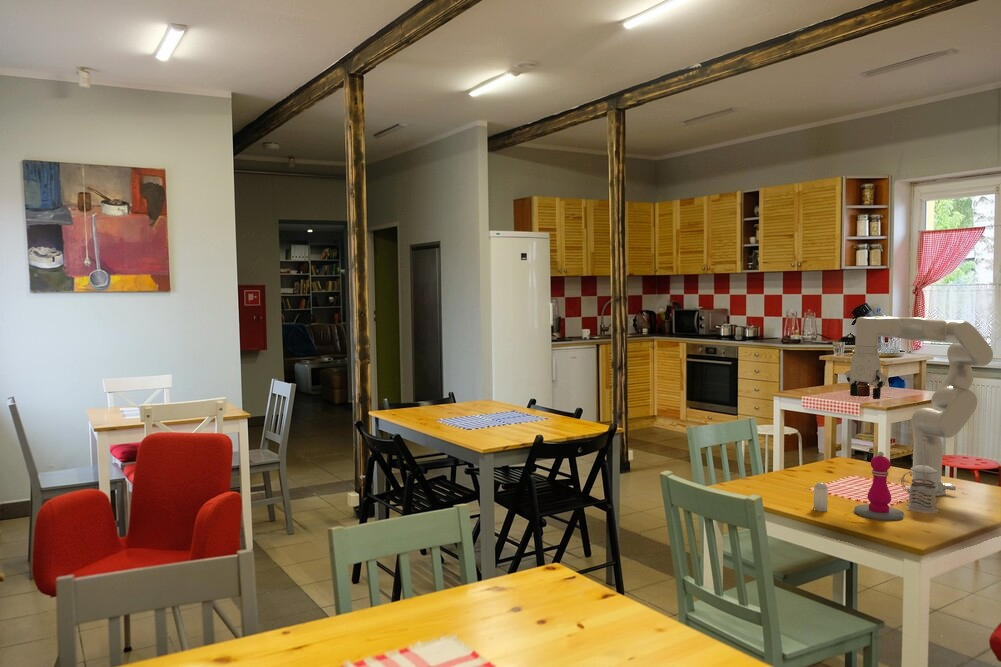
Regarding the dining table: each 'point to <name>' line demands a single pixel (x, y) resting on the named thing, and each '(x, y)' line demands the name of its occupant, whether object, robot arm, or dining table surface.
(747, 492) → the dining table surface
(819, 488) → the salt shaker
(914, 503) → the french press
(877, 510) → the pepper mill
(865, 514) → the disc
